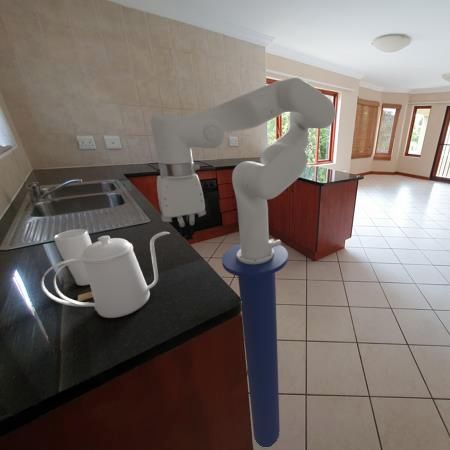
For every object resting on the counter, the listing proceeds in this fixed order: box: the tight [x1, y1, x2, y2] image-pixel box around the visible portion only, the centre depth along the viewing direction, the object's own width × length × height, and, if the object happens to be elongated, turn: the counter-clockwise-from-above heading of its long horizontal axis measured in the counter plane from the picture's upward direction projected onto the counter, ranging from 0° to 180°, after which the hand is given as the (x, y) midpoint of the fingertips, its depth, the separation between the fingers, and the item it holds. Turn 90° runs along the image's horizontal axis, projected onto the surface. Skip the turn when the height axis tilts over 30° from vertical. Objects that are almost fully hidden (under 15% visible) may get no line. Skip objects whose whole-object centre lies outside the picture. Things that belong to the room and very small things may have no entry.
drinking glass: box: [53, 228, 93, 287], centre depth 65 cm, size 7×7×15 cm
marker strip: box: [77, 291, 94, 302], centre depth 63 cm, size 8×3×1 cm, turn 128°
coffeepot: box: [40, 231, 171, 319], centre depth 56 cm, size 11×25×19 cm, turn 126°
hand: (188, 238), depth 64 cm, fingers closed
